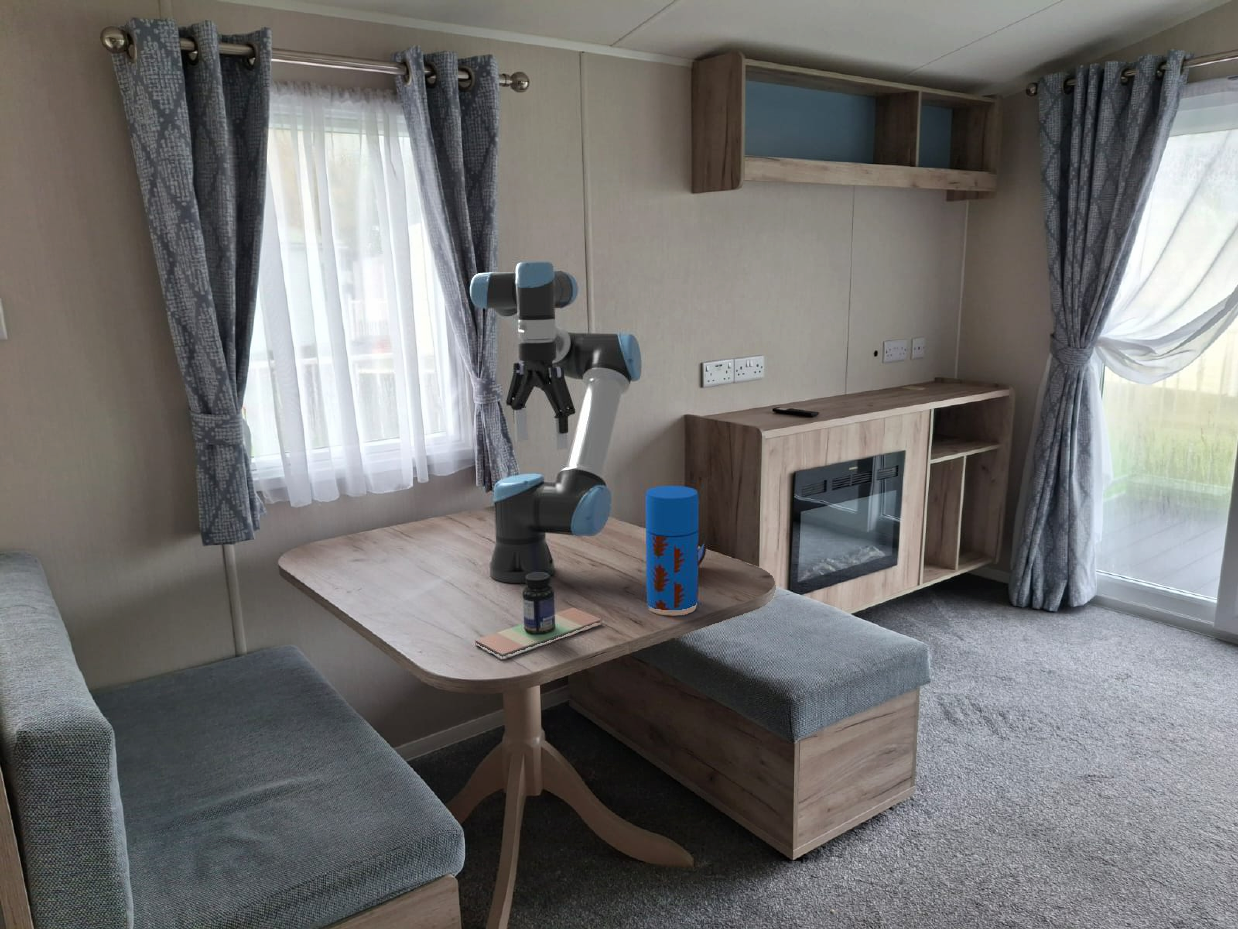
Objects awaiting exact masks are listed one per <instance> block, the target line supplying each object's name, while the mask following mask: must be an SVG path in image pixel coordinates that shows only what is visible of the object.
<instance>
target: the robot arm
mask: <svg viewBox="0 0 1238 929" xmlns="http://www.w3.org/2000/svg"><path fill="white" fill-rule="evenodd" d="M469 294H470V299H471V302H472V303H473V305H474V306H475V307H476V308H479V309H485V310H489V309H492V310H494V312H496V313H497V314H498V315H499V316H500V317H501V318H502V319H503V320H504V321H505V322H506V323H507V324H508V325H509V326H510V327H511V328H512V329H513V330H514V331H515V332H516V333H517V335H518V339H519V340H521V341H520V342H519V343H518V360H519V361H521V362H514V363H513V368H512V370H513V374H512V378H511V381H510V385H509V388H508V393H507V397H506V401H505V403H506V406H507V407H508V406H509V407H510V408H511V410H512V413H513V414H512V415H513V416H512V417H513V424H514V440H515V442H521V441H527V440H528V439H529V438H528V437H529V436H528V414H527V412H528V411H527V406H526V404H527V401H528V399H529V397H530V395H531V394H532V391H533V389H534V388H537V389H540V391H543V392H544V395H545V396H546V398H547V400H548V403H549V404H550V405H551V408H552V410H553V412H554V416H553V431H554V432H553V435H554V436H553V439H554V450H555V451H560V450H566V449H568V445H569V443H568V434H569V417H570V416H571V415H575V414H576V409H575V405H574V403H573V399H572V395H571V393H570V390H569V387H568V384H567V381H566V378H567V377H568V378H570V379H574V380H582V381H583V383H584V385H585V386H586V388H585V391H584V395H583V400H582V404H581V408H580V412H579V416H578V420H577V424H576V428H575V431H574V435H573V439H572V440H573V441H572V443H571V447H570V451H569V455H568V458H567V463H566V467H565V468H562V469H561V470H559V471H558V473H557V476H556V480H555V482H547V481H545V478H544V477H545V476H544V475H543V474H541V473H523V474H517V475H511V476H508V477H506V478H502V479H500V480H498V481H497V482H496V483H495V484H494V487H493V499H492V503H493V512H494V513H493V514H494V531H495V545H494V548H493V551H492V552H493V553H492V556H491V559H490V560H491V561H490V563H489V576H490V577H491V579H494V580H495V581H498V582H502V583H509V584H526V583H525V582H526V579H525V577H526V575H528V574H530V573H534V572H544V573H547V574H549V575H550V577H552V575H553V574H554V573H555V561H554V559H553V556H552V553H551V550H550V547H549V545H548V542H547V538H546V536H547V535H546V534H554V535H563V536H564V535H565V536H566V535H567V536H575V537H579V538H581V537H593V536H596V535H598V534H600V533H601V532H602V531H603V530H604V528H605V527H606V524H607V523H608V519H609V518H610V513H611V509H612V508H611V507H612V506H611V504H612V494H611V491H610V489H609V488H608V486H607V482H606V480H605V479H604V477H603V475H604V469H605V465H606V464H605V463H606V460H607V457H608V452H609V447H610V443H611V440H612V435H613V429H614V426H615V422H616V418H617V413H618V409H619V405H620V401H621V396H622V395H624V394H625V393H627V392H628V391H629V388H630V384H631V382H637V381H639V380H640V378H641V377H642V355H641V354H642V353H641V349H640V345H639V342H638V339H637V338H636V337H635V336H634V335H633V334H631V333H630V334H629V333H620V332H617V333H599V332H598V333H596V332H594V333H592V332H590V333H588V332H587V333H586V332H583V333H582V332H569V331H566V330H565V329H564V328H563V327H561V326H556V309H564V308H565V307H566V308H567V307H568V306H570V305H572V304H573V303H574V302H575V301H576V299H577V297H578V294H579V286H578V282H577V281H576V279H575V277H574V276H573V275H572V274H570V273H569V272H565V271H562V270H554V264H553V263H552V262H549V261H535V262H534V261H531V262H530V261H529V262H526V261H525V262H523V261H522V262H519V263H517V265H516V267H515V271H514V272H508V271H507V272H505V271H504V272H503V271H501V272H492V271H489V272H480V273H477V274H475V275H474V276H473V277H472V279H471V282H470V286H469Z"/></svg>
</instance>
